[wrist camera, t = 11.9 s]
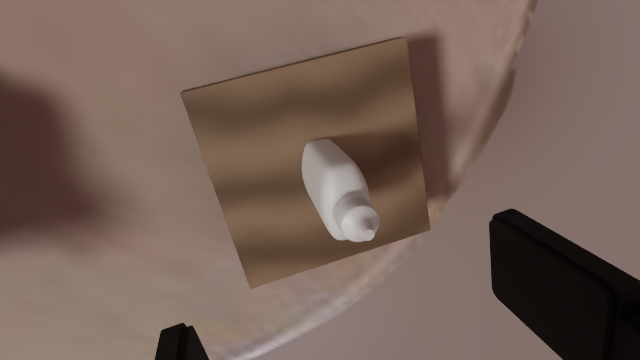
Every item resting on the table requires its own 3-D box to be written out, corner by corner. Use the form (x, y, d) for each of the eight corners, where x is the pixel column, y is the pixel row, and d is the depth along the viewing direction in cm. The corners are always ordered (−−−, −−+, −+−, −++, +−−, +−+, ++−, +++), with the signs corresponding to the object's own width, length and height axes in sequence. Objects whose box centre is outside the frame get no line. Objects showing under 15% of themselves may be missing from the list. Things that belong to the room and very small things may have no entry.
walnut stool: (189, 85, 33) (180, 93, 27) (374, 39, 36) (406, 36, 29) (247, 250, 40) (250, 288, 34) (399, 202, 42) (430, 229, 36)
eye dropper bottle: (356, 147, 31) (422, 200, 20) (332, 206, 33) (382, 285, 22) (309, 131, 30) (353, 177, 19) (286, 192, 31) (314, 269, 20)
